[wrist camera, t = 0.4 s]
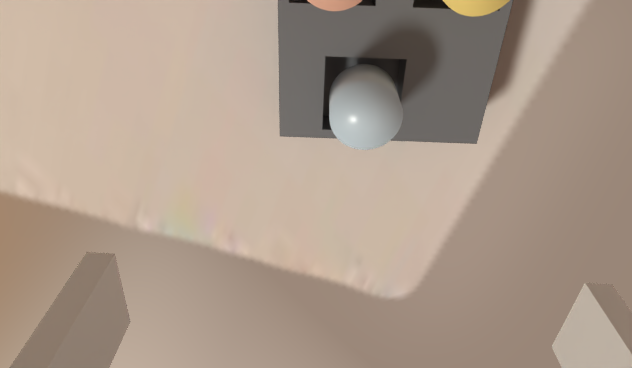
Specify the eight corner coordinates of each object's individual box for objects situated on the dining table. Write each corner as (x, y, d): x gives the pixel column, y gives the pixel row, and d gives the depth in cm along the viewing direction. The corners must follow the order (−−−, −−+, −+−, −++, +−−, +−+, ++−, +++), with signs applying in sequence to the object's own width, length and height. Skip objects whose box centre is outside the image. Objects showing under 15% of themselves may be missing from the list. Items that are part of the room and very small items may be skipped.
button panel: (282, -125, 29) (276, -125, 26) (518, -116, 29) (542, -115, 26) (284, 114, 38) (279, 136, 35) (463, 120, 38) (476, 143, 35)
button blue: (330, 62, 32) (331, 81, 29) (400, 65, 32) (407, 84, 29) (327, 125, 34) (327, 148, 31) (391, 128, 34) (397, 151, 31)
